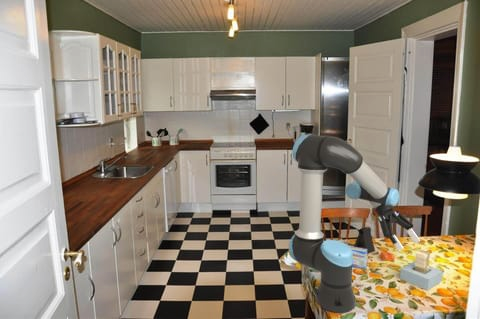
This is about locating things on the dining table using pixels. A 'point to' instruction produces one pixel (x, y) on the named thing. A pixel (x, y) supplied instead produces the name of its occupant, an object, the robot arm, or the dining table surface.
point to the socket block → (421, 276)
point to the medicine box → (359, 257)
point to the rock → (386, 256)
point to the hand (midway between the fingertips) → (409, 245)
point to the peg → (422, 261)
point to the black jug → (365, 240)
